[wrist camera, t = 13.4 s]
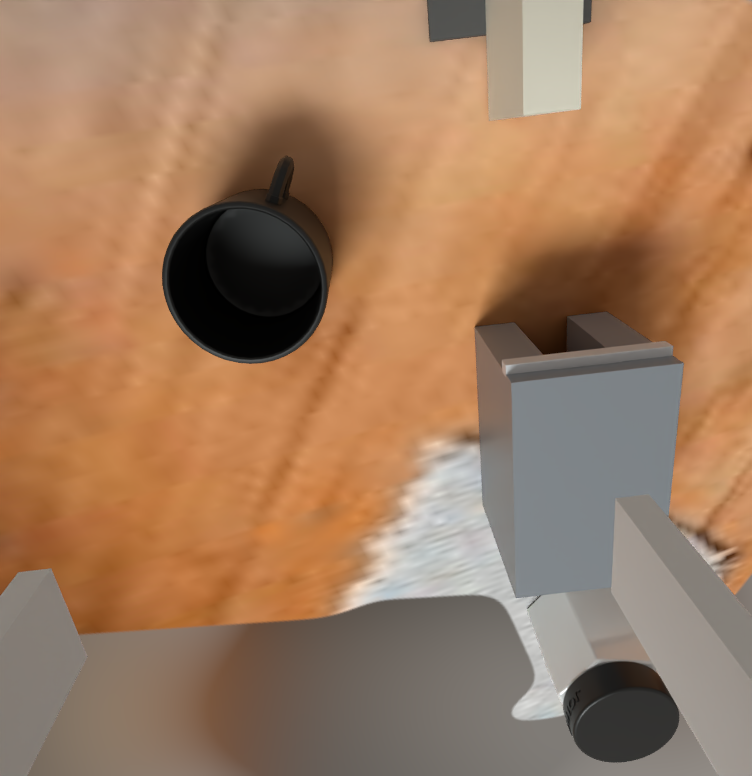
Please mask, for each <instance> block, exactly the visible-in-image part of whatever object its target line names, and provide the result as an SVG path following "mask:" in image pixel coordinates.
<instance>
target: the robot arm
mask: <svg viewBox="0 0 752 776" xmlns="http://www.w3.org/2000/svg"><path fill="white" fill-rule="evenodd" d="M611 593H612V594H613V596H614V598H615V600H616V601H617V603H618V605H619V606H620V608H621V610H622V612H623V613H624V615H625V617H626V618H627V620H628V622H629V624H630V625H631V627H632V629H633V630H634V632H635V634H636V636H637V637H638V639H639V641H640V643H641V644H642V646H643V648H644V649H645V651H646V653H647V655H648V656H649V658H650V660H651V661H652V663H653V665H654V667H655V668H656V670H657V672H658V673H659V675H660V677H661V679H662V680H663V682H664V684H665V686H666V687H667V689H668V691H669V692H670V694H671V696H672V698H673V699H674V701H675V703H676V704H677V706H678V708H679V709H680V711H681V713H682V715H683V717H684V718H685V720H686V722H687V723H688V725H689V727H690V729H691V730H692V731H693V734H694V735H695V737H696V739H697V740H698V742H699V744H700V746H701V747H702V749H703V751H704V753H705V754H706V756H707V758H708V760H709V761H710V763H711V765H712V766H713V768H714V770H715V771H716V773H717V775H718V776H752V615H751V614H750V613H749V612H748V611H747V610H746V608H745V607H744V606H743V605H742V604H741V603H740V601H739V600H738V599H737V598H736V597H735V595H734V594H733V593H732V592H731V591H730V589H729V588H728V587H727V586H726V585H725V584H724V582H723V581H722V580H721V579H720V578H719V577H718V575H717V574H716V573H715V572H714V571H713V569H712V568H711V567H710V566H709V565H708V564H707V562H706V561H705V560H704V559H703V558H702V556H701V555H700V554H699V553H698V552H697V551H696V549H695V548H694V547H693V546H692V545H691V544H690V542H689V541H688V540H687V539H686V538H685V536H684V535H683V534H682V533H681V532H680V531H679V529H678V528H677V527H676V526H675V525H674V524H673V522H672V521H671V520H670V519H669V518H668V516H667V515H666V514H665V513H664V512H663V511H662V509H661V508H660V507H659V506H658V505H657V503H656V502H655V501H654V500H653V499H652V498H651V496H650V495H649V494H647V495H639V496H630V497H622V498H615V520H614V542H613V564H612V585H611ZM86 659H87V654H86V652H85V649H84V647H83V645H82V643H81V640H80V637H79V635H78V632H77V630H76V627H75V625H74V623H73V620H72V618H71V615H70V613H69V611H68V608H67V606H66V603H65V601H64V599H63V596H62V594H61V591H60V589H59V587H58V584H57V582H56V579H55V577H54V574H53V572H52V570H51V569H43V570H35V571H27V572H19V573H18V574H17V575H16V576H15V578H14V579H13V580H12V581H11V583H10V584H9V585H8V587H7V588H6V589H5V591H4V592H3V593H2V594H1V596H0V776H27V775H28V773H29V771H30V769H31V767H32V765H33V763H34V761H35V759H36V757H37V755H38V753H39V751H40V749H41V747H42V745H43V743H44V741H45V739H46V737H47V735H48V733H49V731H50V729H51V728H52V725H53V723H54V721H55V720H56V718H57V716H58V714H59V712H60V710H61V708H62V706H63V704H64V702H65V700H66V698H67V696H68V694H69V692H70V690H71V688H72V686H73V684H74V682H75V680H76V678H77V676H78V674H79V672H80V670H81V668H82V667H83V664H84V662H85V661H86Z"/></svg>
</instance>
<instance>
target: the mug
mask: <svg viewBox="0 0 752 776" xmlns="http://www.w3.org/2000/svg"><path fill="white" fill-rule="evenodd" d="M293 172H294V162H293V159H292V158H290V157H289V156H285V157H283V158H282V159H281V160H280V161H279V163H278V166H277V168H276V171H275V174H274V176H273V179H272V183H271V186H270V189H269V190H266V189H257V190H249V191H244V192H240V193H238V194H236V195H233V196H231V197H229V198H226V199H224V200H222V201H220V202H218V203H215V204H213V205H211V206H209V207H206V208H204V209H202V210H200V211H199V212H197V213H196V214H194V215H192V216H191V217H190V218H189V219H188V220H187V221H186V222H184V223H183V224H182V226H181V227H180V228H179V229H178V230H177V232H176V233H175V234H174V236H173V238H172V240H171V241H170V243H169V245H168V248H167V251H166V254H165V257H164V262H163V269H162V285H163V290H164V295H165V299H166V302H167V305H168V308H169V310H170V312H171V314H172V316H173V318H174V320H175V321H176V323H177V324H178V326H179V327H180V328H181V330H182V331H183V332H184V333H185V334H186V335H187V336H188V337H189V338H190V339H191V340H192V341H193V342H194V343H195V344H197V345H198V346H199V347H201V348H202V349H204V350H205V351H207V352H209V353H211V354H213V355H215V356H217V357H220V358H222V359H225V360H229V361H233V362H238V363H248V364H252V363H264V362H269V361H274V360H276V359H279V358H282V357H284V356H286V355H288V354H290V353H292V352H294V351H295V350H297V349H298V348H299V347H300V346H302V345H303V344H304V343H305V342H306V341H307V340H308V339H309V338H310V337H311V336H312V334H313V333H314V331H315V330H316V328H317V327H318V325H319V323H320V321H321V319H322V317H323V314H324V312H325V308H326V303H327V298H328V292H329V286H330V280H331V274H332V265H333V257H332V249H331V244H330V240H329V238H328V235H327V233H326V230H325V228H324V227H323V225H322V223H321V222H320V220H319V219H318V218H317V216H316V215H315V214H314V213H313V212H312V211H311V210H310V209H309V208H308V207H307V206H306V205H305V204H303V203H302V202H300V201H299V200H297V199H295V198H294V197H291V196H289V188H290V184H291V180H292V176H293Z"/></svg>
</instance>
